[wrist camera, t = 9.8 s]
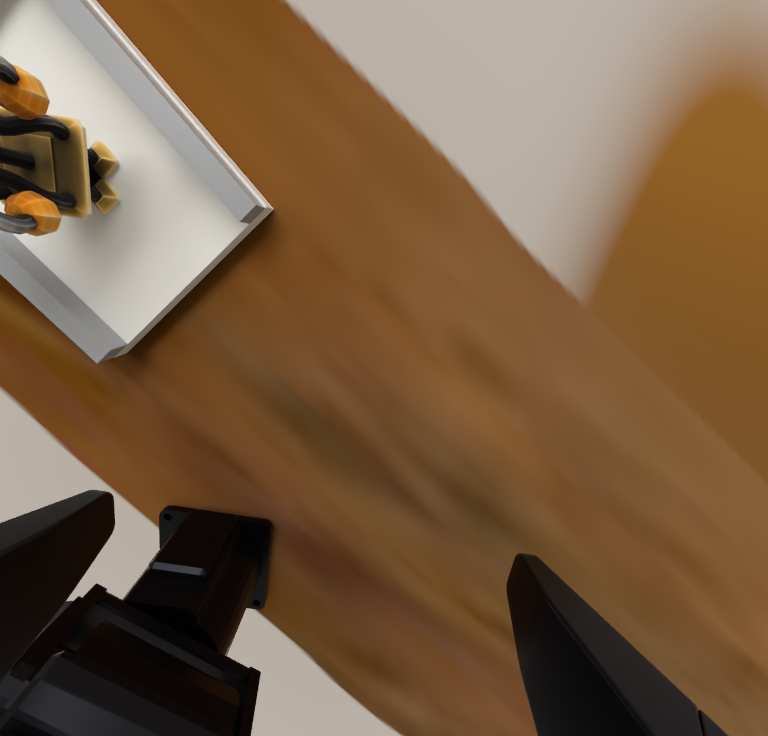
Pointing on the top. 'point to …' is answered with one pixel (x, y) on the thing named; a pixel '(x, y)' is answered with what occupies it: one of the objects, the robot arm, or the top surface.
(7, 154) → the figurine
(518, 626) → the robot arm
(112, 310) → the tray
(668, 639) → the top surface
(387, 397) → the top surface
